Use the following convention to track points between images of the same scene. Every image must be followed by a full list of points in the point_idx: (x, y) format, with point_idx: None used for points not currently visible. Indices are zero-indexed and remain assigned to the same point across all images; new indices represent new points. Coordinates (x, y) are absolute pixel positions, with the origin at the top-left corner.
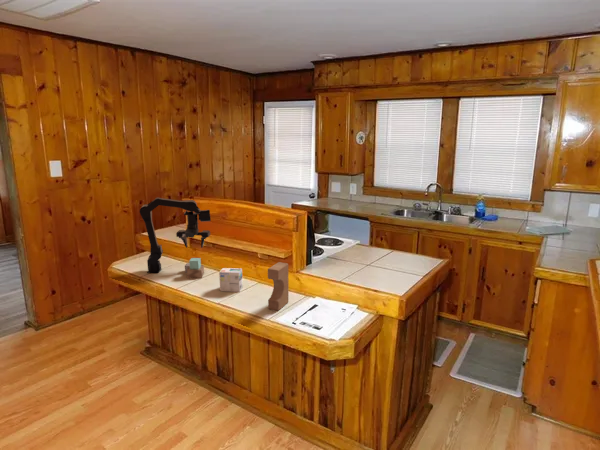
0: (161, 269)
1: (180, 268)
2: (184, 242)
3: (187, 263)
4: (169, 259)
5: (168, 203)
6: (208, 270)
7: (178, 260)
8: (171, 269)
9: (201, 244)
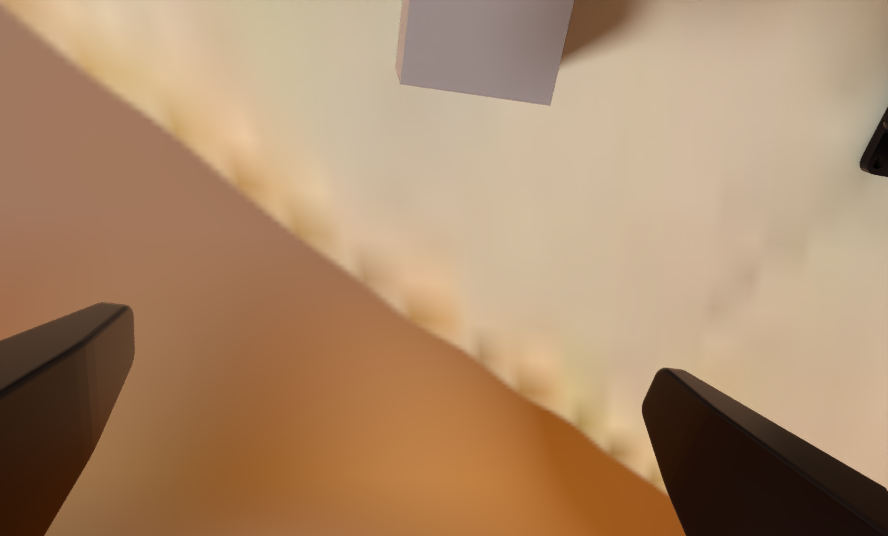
0: (865, 153)
1: (611, 180)
2: (871, 496)
3: (534, 89)
4: None
5: None
6: (149, 18)
7: (625, 451)
8: (733, 155)
9: (16, 369)
